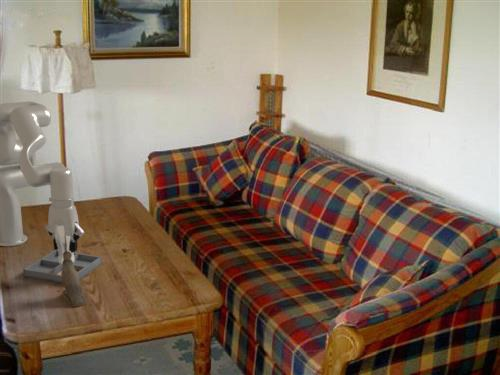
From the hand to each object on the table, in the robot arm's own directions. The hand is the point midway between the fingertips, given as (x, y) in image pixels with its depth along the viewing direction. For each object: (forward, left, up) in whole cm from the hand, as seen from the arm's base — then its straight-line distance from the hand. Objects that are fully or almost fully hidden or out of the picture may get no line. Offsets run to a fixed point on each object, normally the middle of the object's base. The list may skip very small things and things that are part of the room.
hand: (65, 249), depth 230 cm
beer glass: (0, 0, -5) cm, 5 cm away
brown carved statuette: (+12, -14, -11) cm, 22 cm away
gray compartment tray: (-5, +5, -11) cm, 13 cm away
